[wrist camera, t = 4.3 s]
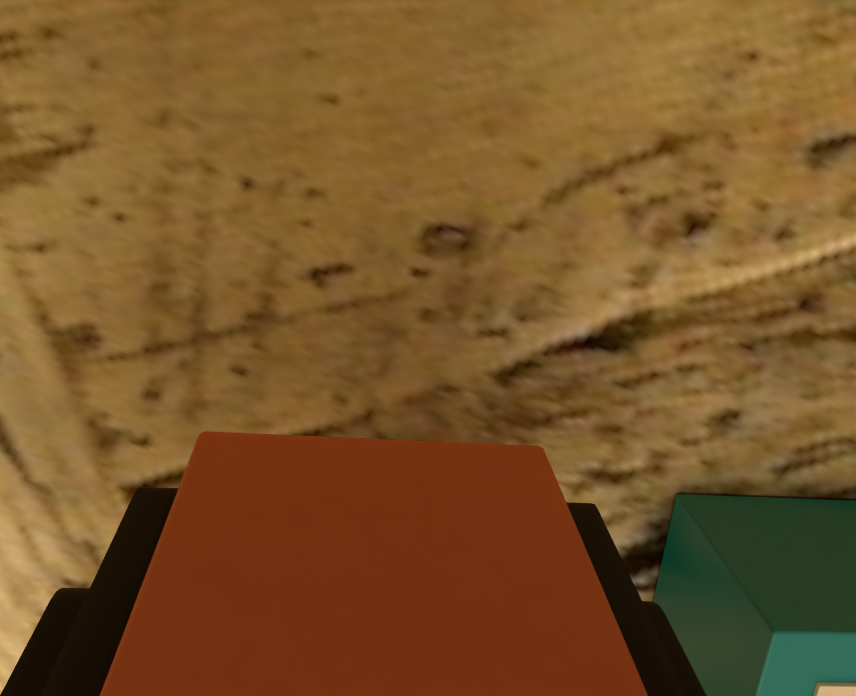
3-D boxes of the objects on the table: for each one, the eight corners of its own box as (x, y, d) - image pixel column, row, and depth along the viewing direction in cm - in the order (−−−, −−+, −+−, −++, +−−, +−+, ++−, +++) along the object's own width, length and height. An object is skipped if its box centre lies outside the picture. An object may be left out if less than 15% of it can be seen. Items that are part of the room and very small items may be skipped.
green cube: (675, 492, 17) (777, 636, 13) (869, 499, 18) (1026, 640, 14) (639, 658, 19) (719, 835, 15) (818, 661, 19) (945, 833, 15)
